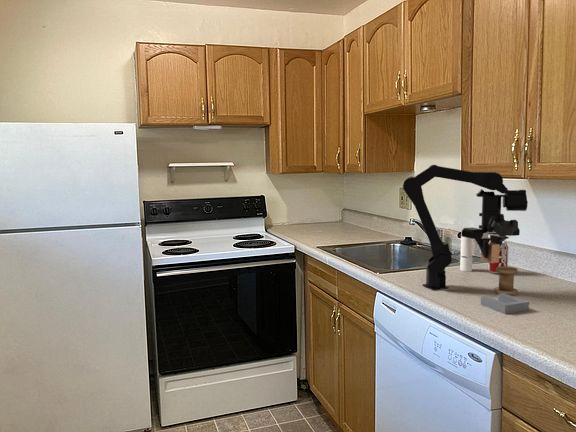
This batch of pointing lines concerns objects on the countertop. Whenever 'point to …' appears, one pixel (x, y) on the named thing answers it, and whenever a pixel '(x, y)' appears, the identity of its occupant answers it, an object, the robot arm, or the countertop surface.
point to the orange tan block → (492, 253)
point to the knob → (506, 280)
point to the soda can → (500, 259)
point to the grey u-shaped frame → (505, 303)
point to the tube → (466, 254)
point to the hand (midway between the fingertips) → (489, 257)
